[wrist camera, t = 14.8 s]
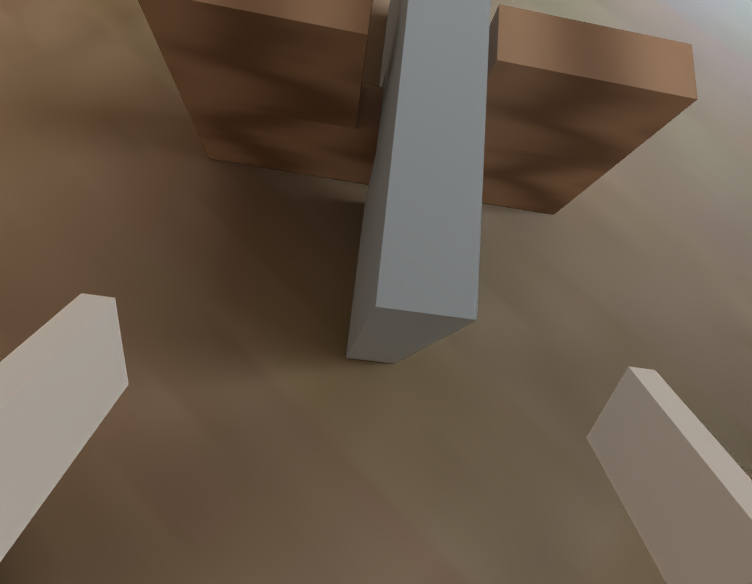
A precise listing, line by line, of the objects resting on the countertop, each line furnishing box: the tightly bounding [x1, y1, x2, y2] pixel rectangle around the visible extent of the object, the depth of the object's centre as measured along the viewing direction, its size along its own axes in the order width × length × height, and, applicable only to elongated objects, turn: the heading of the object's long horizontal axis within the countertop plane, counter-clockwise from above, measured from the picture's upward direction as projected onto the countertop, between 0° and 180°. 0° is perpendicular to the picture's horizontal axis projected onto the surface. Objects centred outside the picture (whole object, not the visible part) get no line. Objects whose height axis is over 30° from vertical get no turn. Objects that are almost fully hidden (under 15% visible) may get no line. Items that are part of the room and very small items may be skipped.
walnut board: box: [138, 0, 697, 214], centre depth 20 cm, size 20×2×10 cm, turn 84°
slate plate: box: [346, 0, 490, 363], centre depth 19 cm, size 2×22×12 cm, turn 174°
